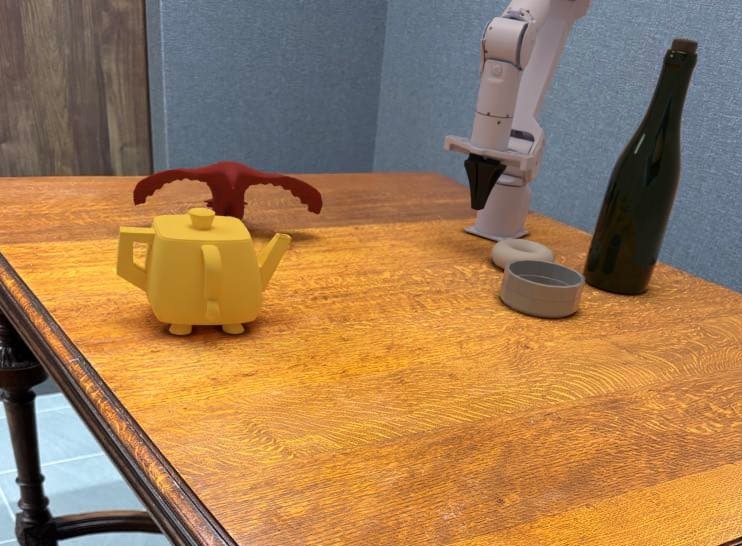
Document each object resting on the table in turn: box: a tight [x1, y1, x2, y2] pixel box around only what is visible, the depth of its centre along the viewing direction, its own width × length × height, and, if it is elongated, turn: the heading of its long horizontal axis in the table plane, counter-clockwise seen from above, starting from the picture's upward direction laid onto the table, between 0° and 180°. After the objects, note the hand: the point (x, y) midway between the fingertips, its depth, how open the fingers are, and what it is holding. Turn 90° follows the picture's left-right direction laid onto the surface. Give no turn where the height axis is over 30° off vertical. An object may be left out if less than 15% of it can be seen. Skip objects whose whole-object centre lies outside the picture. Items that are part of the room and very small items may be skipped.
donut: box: [490, 238, 556, 270], centre depth 127 cm, size 10×4×10 cm
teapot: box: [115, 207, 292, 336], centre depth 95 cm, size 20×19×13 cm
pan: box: [498, 259, 586, 319], centre depth 114 cm, size 11×11×4 cm
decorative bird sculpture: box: [132, 160, 324, 221], centre depth 124 cm, size 28×9×15 cm
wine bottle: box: [581, 37, 699, 295], centre depth 117 cm, size 10×10×33 cm
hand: (477, 208), depth 129 cm, fingers closed
